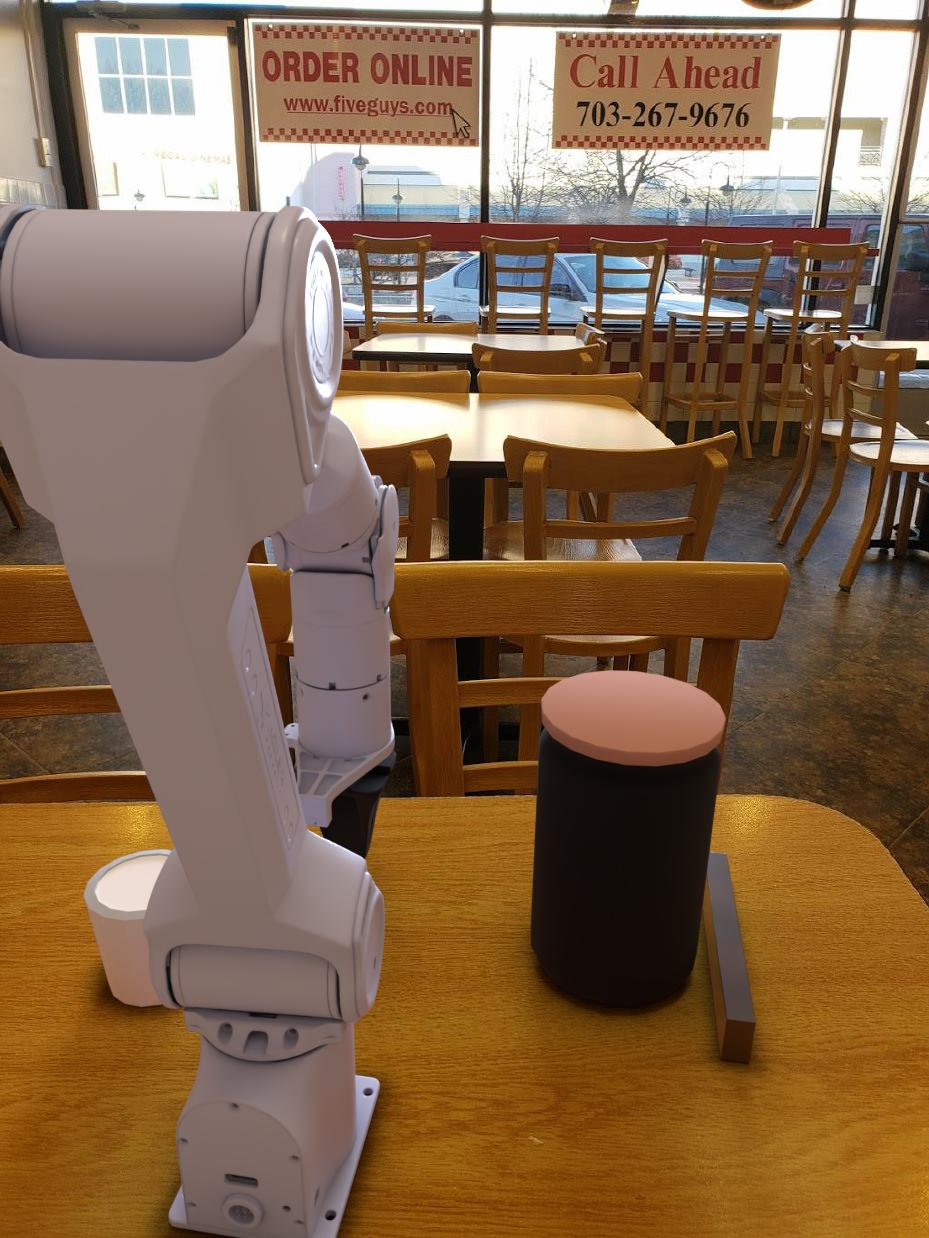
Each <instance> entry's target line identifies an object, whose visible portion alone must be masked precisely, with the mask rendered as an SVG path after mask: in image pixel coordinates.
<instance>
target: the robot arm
mask: <svg viewBox="0 0 929 1238" xmlns="http://www.w3.org/2000/svg"><path fill="white" fill-rule="evenodd" d="M338 262H339V261H338V257H337V253H336V250H335V247H334V243H333V242H332V239H331V236H330V234H329V233H328V232H327V230H326V229H325V228H324V227H323V226H322V224H321V223H320V222H318V219H317V217H316V216H315V214H314V213H313V212H312V211H311V210H310V209H309V208H307V207H305V206H302V205H301V206H300V205H284V206H283V207H282V208H281V209H280V210H279V211H251V210H250V211H247V210H246V211H245V210H244V211H241V210H231V211H230V210H163V209H162V210H160V209H159V210H153V209H152V210H149V209H148V210H147V209H69V208H68V209H67V208H65V209H62V208H61V209H59V208H57V209H56V208H54V209H53V208H51V209H48V208H47V207H46V206H42V205H38V204H33V203H27V202H25V203H23V202H22V203H21V202H15V203H10V204H7V205H4V206H1V208H0V442H1V444H2V447H3V450H4V452H5V454H6V457H7V459H8V461H9V465H10V467H11V469H12V472H13V474H14V476H15V480H16V482H17V484H18V487H19V489H20V492H21V494H22V496H23V498H24V502H25V503H26V505H28V506H29V507H30V508H31V509H33V510H35V511H36V512H37V513H38V514H40V515H41V516H43V517H44V518H45V519H46V520H48V521H50V522H51V523H52V524H53V525H54V530H55V533H56V537H57V540H58V545H59V548H60V552H61V556H62V560H63V563H64V567H65V569H66V573H67V576H68V579H69V582H70V584H71V588H72V590H73V593H74V596H75V599H76V601H77V604H78V606H79V608H80V611H81V614H82V616H83V619H84V621H85V623H86V627H87V628H88V632H89V634H90V636H91V639H92V642H93V644H94V646H95V649H96V652H97V654H98V657H99V659H100V662H101V664H102V666H103V669H104V672H105V675H106V677H107V679H108V682H109V684H110V688H111V690H112V692H113V695H114V697H115V701H116V702H117V705H118V707H119V710H120V713H121V716H122V718H123V720H124V722H125V725H126V727H127V730H128V733H129V736H130V738H131V740H132V742H133V745H134V748H135V750H136V752H137V755H138V757H139V760H140V763H141V766H142V768H143V771H144V773H145V776H146V778H147V780H148V783H149V786H150V788H151V791H152V793H153V795H154V799H155V801H156V804H157V806H158V808H159V812H160V813H161V817H162V819H163V821H164V823H165V826H166V828H167V831H168V834H169V837H170V839H171V841H172V844H173V846H174V847H173V848H172V850H171V853H170V854H169V856H168V857H167V859H166V861H165V863H164V865H163V867H162V869H161V871H160V873H159V876H158V878H157V880H156V882H155V885H154V887H153V890H152V893H151V896H150V899H149V902H148V905H147V909H146V913H145V917H144V922H143V927H144V928H143V932H144V934H145V936H146V938H147V941H148V946H149V973H150V979H151V982H152V985H153V988H154V989H155V991H156V993H157V996H158V998H159V1000H160V1002H161V1003H162V1004H161V1005H162V1006H164V1008H168V1009H173V1010H181V1009H183V1015H184V1024H185V1030H186V1031H188V1032H193V1033H197V1034H199V1035H200V1052H199V1063H198V1067H197V1072H196V1075H195V1078H194V1083H193V1086H192V1088H191V1090H190V1093H189V1095H188V1097H187V1100H186V1102H185V1104H184V1106H183V1108H182V1109H181V1112H180V1114H179V1117H178V1120H177V1123H176V1128H175V1145H176V1152H177V1160H178V1167H179V1175H180V1182H181V1185H180V1188H179V1189H178V1192H177V1193H176V1196H175V1198H174V1200H173V1202H172V1204H171V1206H170V1208H169V1211H168V1214H167V1215H168V1216H167V1217H168V1221H169V1222H168V1223H169V1224H170V1225H171V1226H172V1227H174V1228H177V1229H185V1230H190V1231H196V1232H202V1233H207V1234H212V1235H213V1234H215V1235H220V1236H225V1237H231V1238H338V1234H339V1230H340V1228H341V1224H342V1220H343V1217H344V1213H345V1210H346V1208H347V1207H346V1206H347V1204H348V1200H349V1196H350V1193H351V1189H352V1187H353V1184H354V1183H353V1182H354V1179H355V1176H356V1173H357V1169H358V1166H359V1162H360V1160H361V1155H362V1153H363V1149H364V1146H365V1141H366V1138H367V1136H368V1131H369V1128H370V1125H371V1121H372V1118H373V1114H374V1111H375V1107H376V1104H377V1101H378V1097H379V1094H380V1088H381V1084H380V1081H379V1080H378V1079H377V1078H376V1077H370V1076H364V1075H357V1074H356V1053H355V1050H356V1049H355V1027H354V1026H355V1025H354V1024H357V1023H360V1022H361V1020H362V1019H363V1017H364V1016H365V1015H366V1014H367V1013H368V1012H370V1011H371V1010H372V1008H373V1006H374V1003H375V1001H376V997H377V994H378V990H379V985H380V979H381V978H380V977H381V972H382V966H383V959H384V957H383V956H384V948H385V946H384V945H385V928H386V911H385V899H384V895H383V893H382V891H381V890H380V889H379V888H378V886H377V885H376V883H375V881H374V880H373V878H372V875H371V874H370V873H369V871H368V866H367V860H366V859H367V857H368V854H369V851H370V847H371V844H372V839H373V836H374V835H373V834H374V829H375V822H376V818H377V812H378V807H379V804H380V800H381V796H382V793H383V791H384V788H385V786H386V783H387V781H388V779H389V776H390V774H391V772H392V771H393V769H394V766H395V764H396V762H397V753H396V751H395V750H394V749H395V742H396V741H395V730H394V727H393V723H392V722H393V721H392V711H391V710H392V703H391V702H392V700H391V699H392V697H391V696H392V695H391V693H392V691H391V690H392V689H391V639H390V637H391V633H390V630H391V629H390V627H391V626H390V600H391V598H392V596H393V594H394V591H395V561H396V555H397V550H398V545H399V544H398V543H399V530H400V513H399V511H400V509H399V499H398V494H397V491H396V488H395V486H394V485H393V484H390V485H388V486H387V485H384V483H383V482H384V481H383V480H382V478H381V476H380V475H374V474H373V475H372V474H371V471H370V469H369V467H368V464H367V461H366V460H365V456H364V455H363V452H362V451H361V447H360V445H359V443H358V441H357V438H356V436H355V434H354V432H353V430H352V429H351V427H350V426H349V424H348V423H347V422H346V421H345V420H344V419H343V418H342V417H340V416H339V415H338V414H337V413H335V412H333V411H332V408H333V403H334V399H335V397H336V394H337V391H338V388H339V383H340V378H341V372H342V364H343V354H344V353H343V352H344V304H343V291H342V290H343V289H342V282H341V274H340V267H339V263H338ZM268 537H270V539H271V545H272V550H273V557H274V560H275V564H276V567H277V569H278V570H279V571H282V572H288V571H289V570H290V569H291V570H292V572H291V573H290V575H289V588H290V604H291V622H292V623H291V624H292V641H293V642H292V643H293V658H294V659H293V660H294V672H295V673H294V676H295V692H296V693H295V694H296V697H295V698H296V712H297V713H296V714H297V722H292V723H289V724H287V725H286V726H284V721H283V717H282V712H281V708H280V704H279V699H278V695H277V691H276V690H277V689H276V686H275V682H274V677H273V672H272V667H271V664H270V660H269V659H270V658H269V655H268V649H267V646H266V642H265V637H264V632H263V628H262V624H261V620H260V615H259V611H258V607H257V601H256V598H255V593H254V589H253V584H252V580H251V575H250V571H249V566H248V560H249V557H250V554H251V551H252V549H253V547H254V546H255V545H256V544H258V543H259V542H261V541H263V540H265V539H266V538H268ZM290 749H294V750H295V758H296V759H295V761H296V772H295V770H294V766H293V761H292V755H291V753H290ZM307 827H319V830H320V832H321V833H320V834H321V835H322V836H320V835H318V834H316V833H315V832H313V831H311V830H309V829H308V828H307ZM367 1094H370V1095H367ZM329 1217H334V1218H333V1219H332V1220H328V1218H329Z"/></svg>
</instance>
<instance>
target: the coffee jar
mask: <svg viewBox="0 0 929 1238" xmlns="http://www.w3.org/2000/svg"><path fill="white" fill-rule="evenodd" d="M540 706H541V722H542V723H541V724H542V725H543V727H544V728H543V730H542V731H541V733H540V735H539V737H538V754H537V755H538V756H537V776H536V777H537V778H536V797H535V799H536V800H535V819H534V821H535V823H534V842H533V860H532V861H533V864H532V884H531V906H530V909H531V910H530V926H529V927H530V946H531V949H532V950H533V952H534V955H535V957H536V959H537V960H538V963H539V965H540V967H541V968H542V970H543V971H544V972H545V973H546V975H547V976H548V977H549V978H550V979H551V980H552V981H553V982H554V983H555V984H556V985H557V986H558V987H559V988H560V989H561V990H562V991H564V992H566V993H567V994H570V995H572V996H573V997H575V998H577V999H578V1000H581V1001H582V1002H587V1003H589V1004H593V1005H595V1006H600V1007H604V1008H612V1009H613V1008H616V1009H634V1008H639V1007H643V1006H650V1005H653V1004H655V1003H656V1002H658V1001H661V1000H663V999H665V998H667V997H668V996H669V995H671V994H672V993H673V992H674V991H676V990H678V989H679V987H681V985H682V984H683V983H684V982H685V980H686V979H687V978H688V977H689V975H690V974H691V973H692V971H693V970H694V967H695V963H696V958H697V953H698V946H699V939H700V932H701V931H700V929H701V924H702V923H701V922H702V916H703V909H702V908H703V900H704V892H705V884H706V876H707V868H708V861H709V853H710V852H711V844H712V836H713V828H714V821H715V814H716V804H717V797H718V796H717V795H718V789H719V780H720V772H721V767H722V766H721V764H722V755H721V751H720V749H719V746H718V745H720V744H721V741H722V737H723V734H724V730H725V725H726V722H727V718H726V715H725V713H724V710H723V709H722V707H721V704H720V703H719V702H718V701H717V700H715V699H714V698H713V697H711V695H709V694H708V693H707V692H706V691H703V690H701V689H700V688H697V687H695V686H693V685H691V684H690V683H688V682H685V681H682V680H678V679H675V678H673V677H669V676H665V675H662V674H656V673H650V672H643V671H636V670H635V671H634V670H610V669H609V670H601V671H600V670H599V671H591V672H584V673H581V674H577V675H573V676H570V677H566V678H563V679H561V680H560V681H558V682H556V683H555V684H553V685H551V686H550V687H549V688H548V689H547V691H546V692H545V693H544V695H543V696H542V698H541V699H540Z"/></svg>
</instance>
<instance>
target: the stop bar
mask: <svg viewBox="0 0 929 1238" xmlns="http://www.w3.org/2000/svg"><path fill="white" fill-rule="evenodd" d="M702 916H703V926H704V935H705V942H706V950H707V958H708V959H707V960H708V965H709V966H708V968H709V974H710V982H711V990H712V998H713V999H712V1000H713V1007H714V1017H715V1025H716V1034H717V1040H718V1047H719V1048H718V1049H719V1058H720V1060H722V1061H728V1062H736V1063H744V1064H750V1062H751V1055H752V1049H753V1044H754V1037H755V1031H756V1025H757V1021H756V1015H755V1009H754V1003H753V997H752V992H751V987H750V986H751V985H750V980H749V974H748V969H747V963H746V962H747V961H746V956H745V952H744V946H743V939H742V934H741V928H740V924H739V923H740V922H739V917H738V911H737V905H736V898H735V893H734V887H733V881H732V875H731V870H730V864H729V858H728V854H727V853H725V852H724V853H723V852H716V851H715V852H714V851H710V853H709V861H708V868H707V876H706V884H705V892H704V900H703V908H702Z"/></svg>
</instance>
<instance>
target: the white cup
mask: <svg viewBox="0 0 929 1238" xmlns="http://www.w3.org/2000/svg"><path fill="white" fill-rule="evenodd" d="M171 851H172V850H171V849H165V848H160V849H150V850H148V849H147V850H140V851H137V852H134V853H130V854H127V855H123V856H121V857H117V858H116V859H114V860H113V861H110V862H109V863H107V864H105V865H104V866H102V867H100V868H99V869H98V870H97V871H96V872H95V874H94V875H93V876H92V877H90V879H88V880H87V883H86V886H85V889H84V892H83V899H84V902H85V905H86V909H87V912H88V916H89V919H90V923H91V926H92V930H93V933H94V937H95V940H96V944H97V947H98V951H99V954H100V958H101V961H102V965H103V969H104V972H105V975H106V978H107V979H106V980H107V982H108V986H109V988H110V992H111V994H112V996H113V997H114V998H116V999H117V1000H118V1001H120V1002H121V1003H123V1004H124V1005H128V1006H129V1005H130V1006H135V1007H138V1008H139V1007H140V1008H143V1007H151V1006H152V1007H153V1006H160V1005H163V1004H162V1003H161V1002H160V1000H159V998H158V996H157V993H156V991H155V989H154V988H153V985H152V982H151V979H150V973H149V946H148V941H147V938H146V936H145V934H144V932H143V928H144V927H143V922H144V917H145V913H146V909H147V905H148V902H149V899H150V896H151V893H152V890H153V887H154V885H155V882H156V880H157V878H158V876H159V873H160V871H161V869H162V867H163V865H164V863H165V861H166V859H167V857H168V856H169V854H170V853H171Z"/></svg>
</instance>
